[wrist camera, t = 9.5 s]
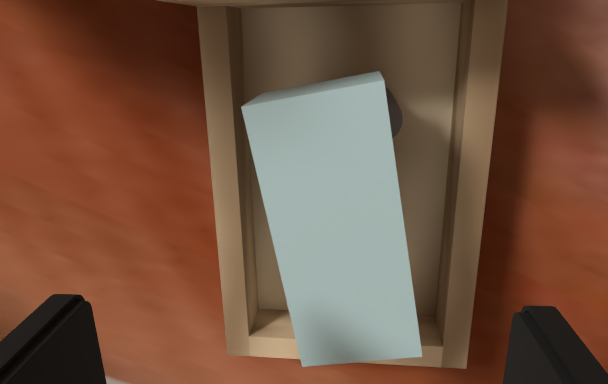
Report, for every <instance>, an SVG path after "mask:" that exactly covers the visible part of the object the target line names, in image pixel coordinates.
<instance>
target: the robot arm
mask: <svg viewBox="0 0 608 384" xmlns="http://www.w3.org/2000/svg"><path fill="white" fill-rule="evenodd" d="M0 384H106V379H105V373H104V368H103V363H102V358H101V353H100V348H99V342H98V337H97V332H96V327H95V322H94V317H93V312H92V307H91V304H90V303H89V302H87V301H85V300H84V298H83V297H82V296H81V295H73V294H54V295H52V296H50V297H49V298H48V299H47V300H46V301H45V302H44V303H43V304H41V305H40V306H39V307H38V308H37V309H36V310H35V311H34V312H33V313H32V314H30V315H29V316H28V317H27V318H26V319H25V320H24V321H23V322H22V323H20V324H19V325H18V326H17V327H16V328H15V329H14V330H13V331H12V332H11V333H9V334H8V335H7V336H6V337H5V338H4V339H3V340H2V341H1V342H0ZM503 384H608V374H607V372H606V371H605V370H604V369H603V367H602V366H601V365H600V363H599V362H598V361H597V360H596V358H595V357H594V356H593V355H592V353H591V352H590V351H589V349H588V348H587V347H586V346H585V344H584V343H583V342H582V340H581V339H580V338H579V337H578V335H577V334H576V333H575V331H574V330H573V329H572V328H571V326H570V325H569V324H568V322H567V321H566V320H565V319H564V317H563V316H562V315H561V313H560V312H559V311H558V310H557V309H556V308H555V307H553V306H524V307H523V309H522V311H521V312H516V313H514V315H513V319H512V326H511V332H510V339H509V346H508V353H507V360H506V366H505V373H504V380H503Z"/></svg>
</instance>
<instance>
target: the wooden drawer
mask: <svg viewBox="0 0 608 384" xmlns="http://www.w3.org/2000/svg"><path fill="white" fill-rule="evenodd" d="M157 1H164V2H170V3H177V4H184V5H190V6H197V17H198V28H199V40H200V51H201V62H202V74H203V85H204V96H205V108H206V119H207V130H208V141H209V153H210V164H211V175H212V187H213V198H214V209H215V221H216V232H217V243H218V255H219V266H220V277H221V288H222V300H223V311H224V322H225V334H226V345H227V355H240V356H257V357H274V358H291V359H300V356H299V351H298V347H297V343H296V339H295V334H294V330H293V326H292V322H291V317H290V313H289V309H288V305H287V300H286V296H285V292H284V288H283V283H282V279H281V275H280V271H279V266H278V262H277V258H276V253H275V249H274V245H273V241H272V236H271V232H270V228H269V224H268V219H267V215H266V211H265V207H264V202H263V198H262V194H261V190H260V185H259V181H258V177H257V173H256V168H255V164H254V160H253V156H252V151H251V147H250V143H249V139H248V134H247V130H246V126H245V121H244V117H243V113H242V109H241V107H242V106H243V105H245V104H246V103H248V102H249V101H251V100H253V99H254V98H256V97H257V96H259V95H260V94H262V93H265V92H271V91H276V90H281V89H287V88H292V87H297V86H302V85H308V84H313V83H318V82H324V81H329V80H334V79H339V78H345V77H350V76H355V75H361V74H366V73H371V72H376V71H380V73H381V75H382V77H383V79H384V83H385V90H386V97H387V104H388V112H389V119H390V126H391V133H392V140H393V148H394V155H395V162H396V169H397V176H398V184H399V191H400V198H401V205H402V213H403V220H404V227H405V234H406V241H407V249H408V256H409V263H410V270H411V277H412V285H413V292H414V299H415V306H416V314H417V321H418V328H419V335H420V342H421V350H422V357H412V358H400V359H388V360H376V361H365V362H359V363H376V364H393V365H410V366H428V367H445V368H462V369H466V367H467V358H468V349H469V340H470V332H471V323H472V314H473V305H474V297H475V288H476V279H477V271H478V262H479V253H480V244H481V236H482V227H483V218H484V209H485V201H486V192H487V183H488V174H489V166H490V157H491V148H492V139H493V131H494V122H495V113H496V104H497V96H498V87H499V78H500V69H501V61H502V52H503V43H504V34H505V26H506V17H507V8H508V0H157Z"/></svg>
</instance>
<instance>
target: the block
mask: <svg viewBox="0 0 608 384" xmlns="http://www.w3.org/2000/svg"><path fill="white" fill-rule="evenodd" d="M241 109H242V113H243V117H244V121H245V126H246V130H247V134H248V139H249V143H250V147H251V151H252V156H253V160H254V164H255V168H256V173H257V177H258V181H259V185H260V190H261V194H262V198H263V202H264V207H265V211H266V215H267V219H268V224H269V228H270V232H271V236H272V241H273V245H274V249H275V253H276V258H277V262H278V266H279V271H280V275H281V279H282V283H283V288H284V292H285V296H286V300H287V305H288V309H289V313H290V317H291V322H292V326H293V330H294V334H295V339H296V343H297V347H298V351H299V356H300V360H301V364H302V367H306V366H318V365H330V364H341V363H353V362H365V361H376V360H388V359H400V358H412V357H422V350H421V342H420V335H419V328H418V321H417V314H416V306H415V299H414V292H413V285H412V277H411V270H410V263H409V256H408V249H407V241H406V234H405V227H404V220H403V213H402V205H401V198H400V191H399V184H398V176H397V169H396V162H395V155H394V148H393V140H392V133H391V126H390V119H389V112H388V104H387V97H386V90H385V83H384V79H383V77H382V75H381V73H380V71H376V72H371V73H366V74H361V75H355V76H350V77H345V78H339V79H334V80H329V81H324V82H318V83H313V84H308V85H302V86H297V87H292V88H287V89H281V90H276V91H271V92H265V93H262V94H260V95H259V96H257V97H256V98H254V99H253V100H251V101H249V102H248V103H246V104H245V105H243V106H242V107H241Z"/></svg>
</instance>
